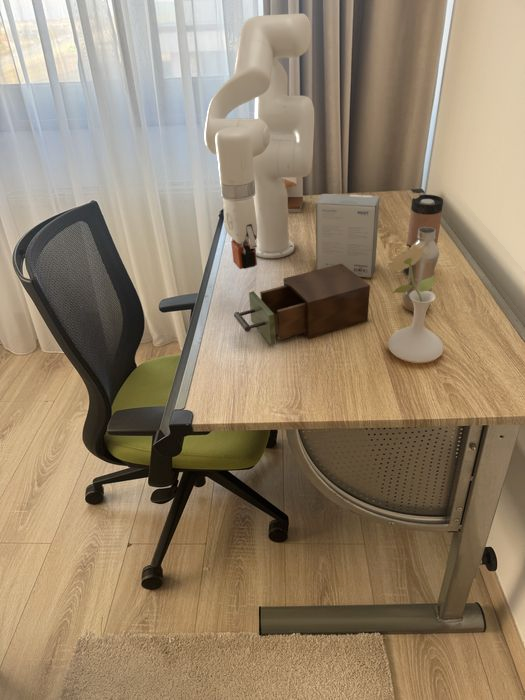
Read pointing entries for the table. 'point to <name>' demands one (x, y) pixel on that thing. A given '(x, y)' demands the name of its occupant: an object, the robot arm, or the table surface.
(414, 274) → the metal bottle
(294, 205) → the display case
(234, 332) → the table surface
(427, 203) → the travel mug
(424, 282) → the flower in vase
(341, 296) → the cabinet
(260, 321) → the drawer
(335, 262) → the hard drive box
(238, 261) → the block
